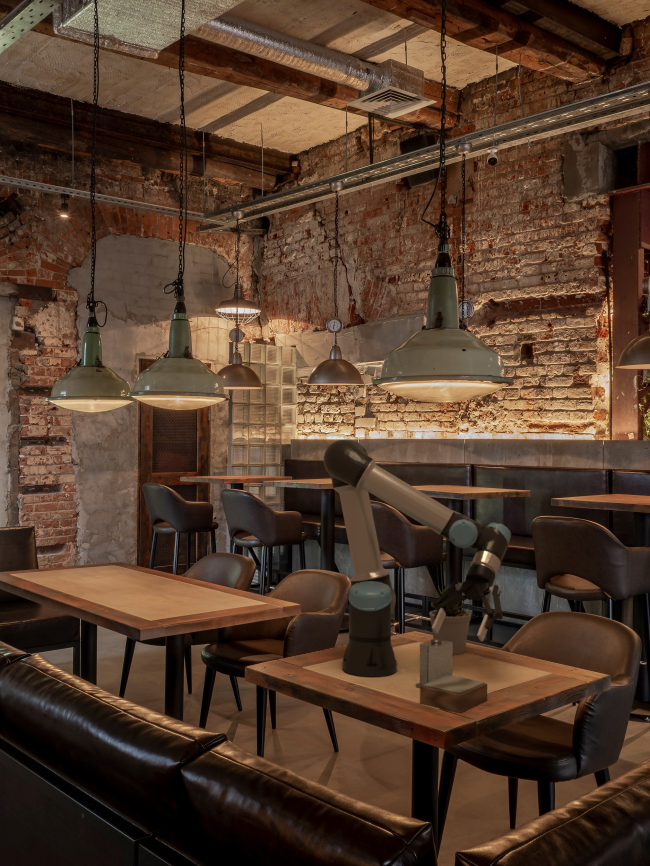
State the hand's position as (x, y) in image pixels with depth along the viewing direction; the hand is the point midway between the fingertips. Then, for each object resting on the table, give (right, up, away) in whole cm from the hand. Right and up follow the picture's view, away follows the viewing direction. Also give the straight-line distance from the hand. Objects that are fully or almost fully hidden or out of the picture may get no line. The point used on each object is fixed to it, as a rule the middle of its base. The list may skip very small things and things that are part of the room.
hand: (456, 634), depth 212 cm
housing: (-6, -12, -6) cm, 15 cm away
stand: (-4, -11, -20) cm, 23 cm away
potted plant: (+3, -13, +31) cm, 34 cm away
